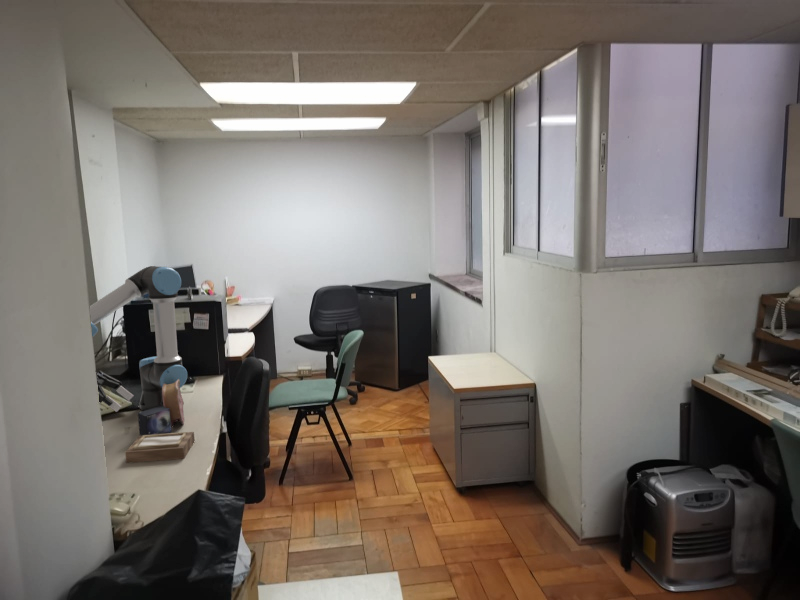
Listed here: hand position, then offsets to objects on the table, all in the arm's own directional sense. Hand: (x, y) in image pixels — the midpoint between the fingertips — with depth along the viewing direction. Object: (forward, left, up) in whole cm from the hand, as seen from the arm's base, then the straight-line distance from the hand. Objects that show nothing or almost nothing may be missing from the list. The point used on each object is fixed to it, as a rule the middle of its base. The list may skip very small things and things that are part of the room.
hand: (125, 403), depth 237 cm
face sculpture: (-14, +15, -14) cm, 25 cm away
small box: (0, +10, -14) cm, 17 cm away
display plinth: (+19, +18, -14) cm, 29 cm away
